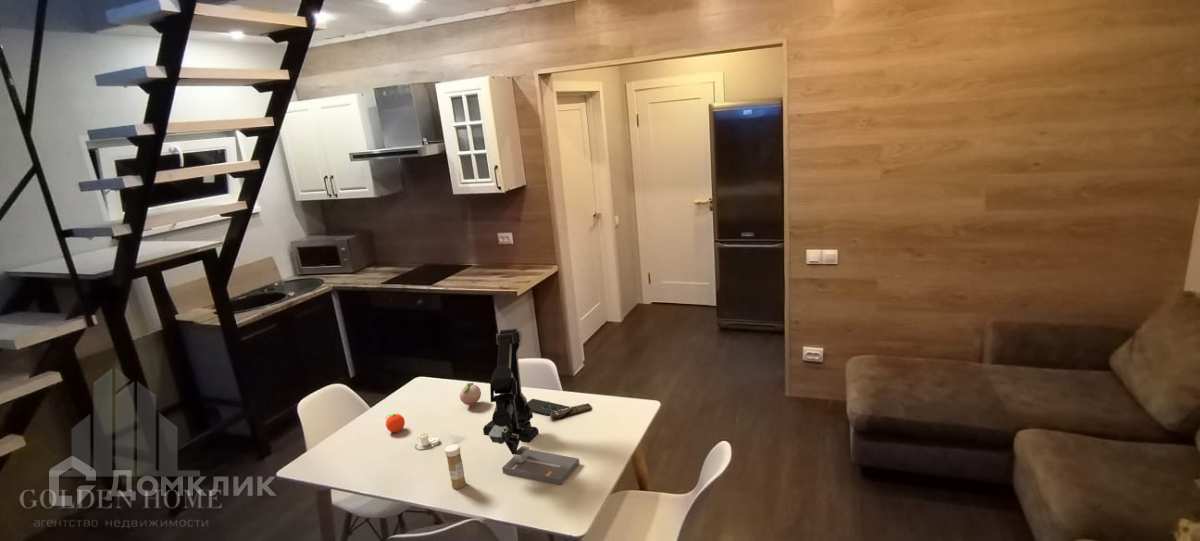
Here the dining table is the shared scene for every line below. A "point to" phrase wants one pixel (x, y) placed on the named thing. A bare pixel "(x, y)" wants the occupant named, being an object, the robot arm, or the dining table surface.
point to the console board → (543, 467)
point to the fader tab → (521, 454)
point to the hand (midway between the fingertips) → (514, 453)
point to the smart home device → (544, 407)
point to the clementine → (395, 422)
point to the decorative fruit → (470, 394)
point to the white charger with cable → (427, 440)
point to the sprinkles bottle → (455, 466)
